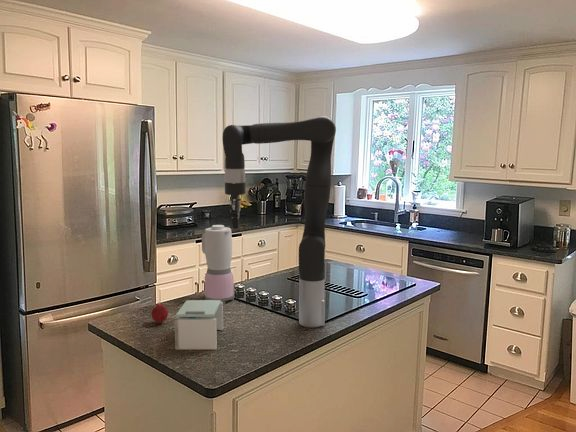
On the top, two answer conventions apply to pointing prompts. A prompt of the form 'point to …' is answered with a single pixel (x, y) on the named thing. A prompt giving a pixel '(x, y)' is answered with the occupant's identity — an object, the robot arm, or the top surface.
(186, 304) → the lid
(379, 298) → the top surface
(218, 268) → the blender
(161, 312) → the onion
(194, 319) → the box
